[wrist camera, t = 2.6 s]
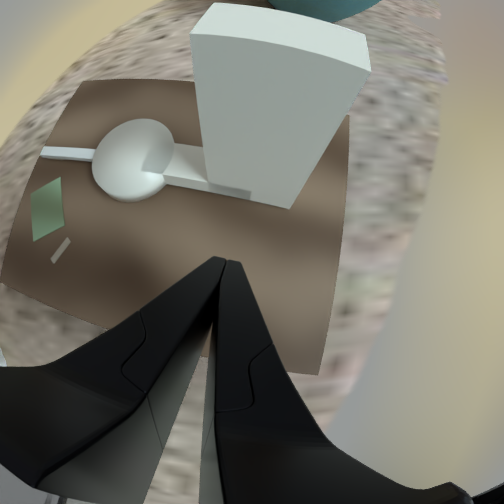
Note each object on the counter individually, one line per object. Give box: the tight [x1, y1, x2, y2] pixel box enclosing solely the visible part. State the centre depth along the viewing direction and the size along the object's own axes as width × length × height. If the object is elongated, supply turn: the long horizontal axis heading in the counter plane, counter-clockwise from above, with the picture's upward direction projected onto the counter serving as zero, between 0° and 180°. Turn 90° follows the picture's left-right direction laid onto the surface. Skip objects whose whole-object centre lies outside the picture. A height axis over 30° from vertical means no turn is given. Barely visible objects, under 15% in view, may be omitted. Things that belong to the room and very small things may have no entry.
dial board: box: [0, 79, 349, 375], centre depth 15 cm, size 17×22×1 cm
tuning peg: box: [40, 3, 371, 209], centre depth 10 cm, size 5×17×10 cm, turn 78°
